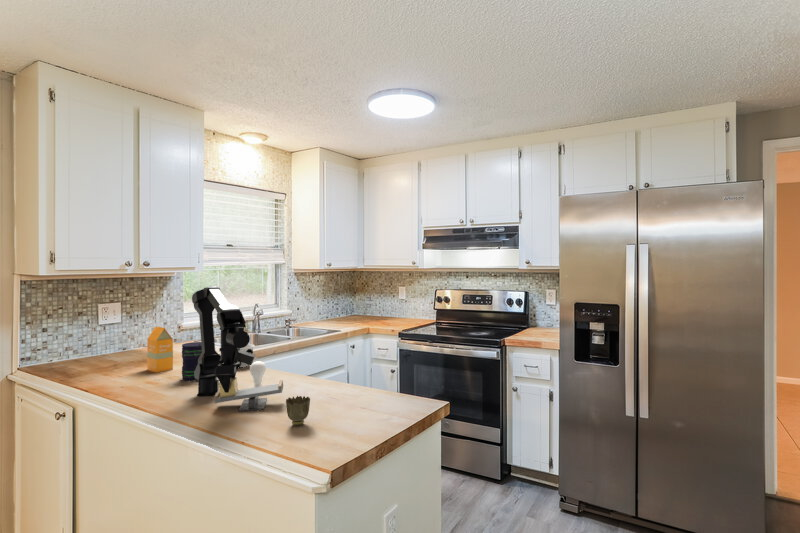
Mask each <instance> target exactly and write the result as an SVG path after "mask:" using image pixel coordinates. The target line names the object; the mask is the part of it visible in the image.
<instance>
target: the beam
mask: <svg viewBox="0 0 800 533" xmlns="http://www.w3.org/2000/svg"><path fill="white" fill-rule="evenodd" d="M283 389H284V380H283V379H281V380H280V379H279V382H278V383H274V384H269V385H263V386H262V385H261V387H249V388H244V389H243V388H242V389H238V392H237V394H236V395H234V396H228V397H221V398H220V390H218V392H217V393H216V394H215V395H213V398H214V404H219V403H220V404H221V403H226V402H230V401H231V402H232V401H237V400H238V401H239V400H244V399H249V398H251V397H258V398H259V397H263V396H264V397H265V396H270V395H275V394H282V393H283Z"/></svg>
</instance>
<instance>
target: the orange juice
mask: <svg viewBox="0 0 800 533" xmlns="http://www.w3.org/2000/svg"><path fill="white" fill-rule="evenodd" d="M146 341H147V342H146V343H147V347H146V348H147V349H146V350H147V351H146V353H147V354H146V355H147V358H146V359H147V371H150V372H153V373H161V372H165V371H172V370H173V369H174V367H173V366H174V346H173V345H174V339H173V337H172V336H171V334H170V333H169V332H168V331H167V329H166V328H165V327H162V326H155V327H154V329H153V330H152V331H151V333H150V334H149V336H148V338H147V340H146Z"/></svg>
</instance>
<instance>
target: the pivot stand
mask: <svg viewBox="0 0 800 533" xmlns="http://www.w3.org/2000/svg"><path fill="white" fill-rule="evenodd" d="M267 401H268V398H267V397H261V398H259V396H258V397H251V398H245V399H242V403H241V405H240V407H239V408H238V412H240V413H241V412H255V411H257V410H259V411H264V410H265V407H266V404H267Z"/></svg>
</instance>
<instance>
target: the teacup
mask: <svg viewBox="0 0 800 533" xmlns="http://www.w3.org/2000/svg"><path fill="white" fill-rule="evenodd" d="M249 348H250V349H253V350H254V348H255V344H254V343H253V344H252V343H248V345H247V346H246V347H244V348H240V350H242V351H244V350H245V351H247V350H248V349H249ZM238 364H240V362H238ZM241 364H242V365H241V366H240V367H243V368H247V367H249V365H247V364H246V363H241ZM246 366H247V367H246Z"/></svg>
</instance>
